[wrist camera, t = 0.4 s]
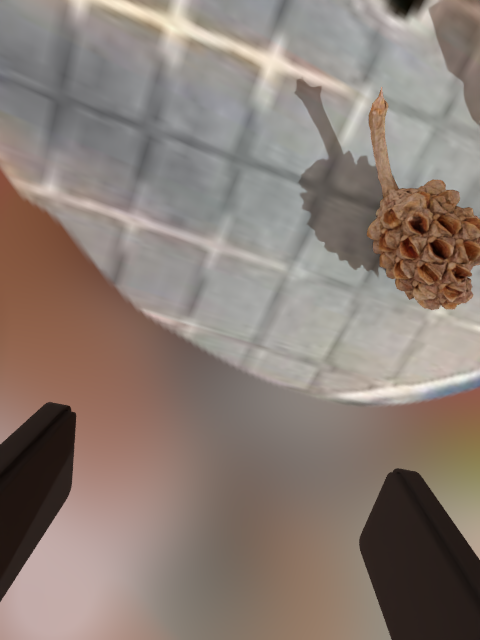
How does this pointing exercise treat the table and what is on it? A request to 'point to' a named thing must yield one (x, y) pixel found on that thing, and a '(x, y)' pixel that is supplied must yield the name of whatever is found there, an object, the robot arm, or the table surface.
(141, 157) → the table surface
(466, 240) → the pine cone
